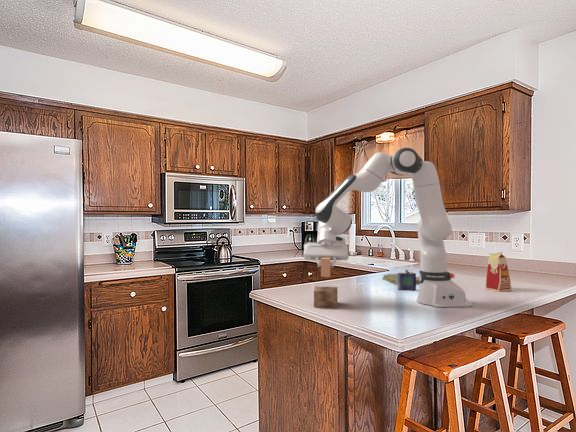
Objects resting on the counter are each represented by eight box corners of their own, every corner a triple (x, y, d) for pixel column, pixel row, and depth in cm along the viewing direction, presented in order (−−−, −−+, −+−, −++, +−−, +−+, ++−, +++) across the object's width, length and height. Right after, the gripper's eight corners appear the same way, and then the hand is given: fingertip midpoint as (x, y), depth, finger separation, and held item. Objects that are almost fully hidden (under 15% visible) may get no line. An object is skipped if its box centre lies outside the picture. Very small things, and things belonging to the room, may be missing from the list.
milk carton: (511, 290, 188) (511, 251, 188) (499, 292, 185) (498, 252, 185) (495, 287, 197) (495, 250, 197) (483, 288, 193) (483, 251, 193)
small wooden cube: (337, 302, 166) (337, 286, 165) (337, 307, 156) (337, 291, 156) (315, 301, 167) (315, 286, 167) (314, 307, 157) (313, 291, 157)
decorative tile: (406, 278, 227) (406, 272, 227) (426, 284, 208) (426, 278, 208) (379, 280, 222) (379, 274, 222) (397, 286, 203) (397, 280, 203)
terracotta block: (330, 275, 163) (330, 257, 163) (330, 277, 159) (330, 258, 159) (321, 275, 163) (321, 257, 163) (320, 276, 159) (320, 258, 159)
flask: (397, 290, 191) (397, 269, 191) (397, 289, 194) (397, 268, 194) (416, 290, 189) (416, 270, 189) (415, 289, 192) (415, 269, 192)
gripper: (303, 237, 169) (301, 261, 160) (348, 238, 167) (348, 262, 157) (304, 246, 174) (302, 270, 164) (348, 247, 171) (348, 271, 161)
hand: (325, 266), depth 161 cm, fingers closed on terracotta block, 4 cm apart
